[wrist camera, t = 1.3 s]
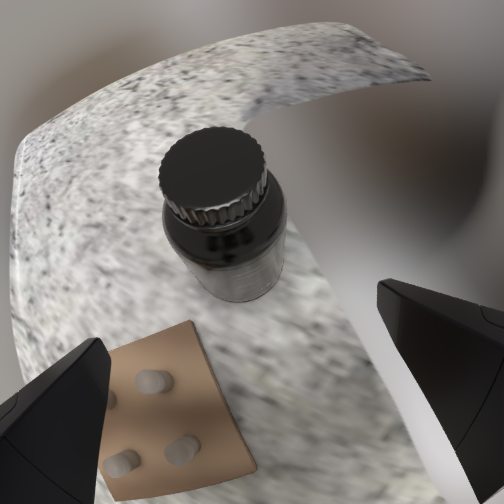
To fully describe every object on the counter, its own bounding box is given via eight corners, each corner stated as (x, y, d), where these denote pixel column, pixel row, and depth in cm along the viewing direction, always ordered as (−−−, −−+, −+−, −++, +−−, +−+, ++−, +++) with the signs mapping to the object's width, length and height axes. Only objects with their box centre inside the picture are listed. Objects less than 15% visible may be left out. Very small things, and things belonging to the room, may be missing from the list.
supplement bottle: (179, 260, 24) (111, 168, 13) (242, 207, 25) (221, 93, 14) (235, 324, 22) (194, 268, 11) (302, 262, 23) (323, 161, 12)
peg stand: (257, 467, 17) (253, 486, 14) (120, 498, 16) (96, 513, 12) (193, 322, 22) (176, 311, 18) (70, 368, 21) (41, 364, 17)
